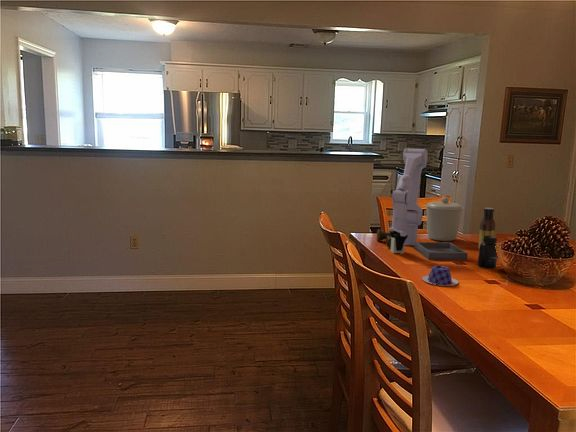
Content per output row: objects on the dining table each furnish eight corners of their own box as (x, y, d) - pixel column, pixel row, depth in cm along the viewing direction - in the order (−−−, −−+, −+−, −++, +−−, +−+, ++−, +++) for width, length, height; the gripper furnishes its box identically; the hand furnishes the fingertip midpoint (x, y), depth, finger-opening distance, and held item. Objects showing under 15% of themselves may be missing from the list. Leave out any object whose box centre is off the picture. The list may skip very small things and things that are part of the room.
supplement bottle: (493, 270, 173) (497, 239, 171) (475, 266, 177) (478, 236, 175) (498, 266, 179) (501, 236, 176) (480, 263, 183) (483, 234, 180)
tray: (414, 248, 203) (415, 242, 203) (449, 249, 204) (450, 242, 204) (428, 259, 186) (429, 252, 185) (466, 260, 187) (467, 253, 186)
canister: (416, 239, 222) (420, 196, 219) (430, 233, 237) (433, 193, 233) (454, 245, 212) (458, 200, 208) (465, 239, 226) (470, 197, 222)
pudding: (424, 274, 166) (426, 261, 165) (459, 280, 161) (461, 265, 160) (418, 284, 155) (420, 269, 154) (456, 290, 150) (457, 274, 149)
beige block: (390, 250, 198) (391, 237, 197) (400, 251, 198) (401, 237, 197) (393, 253, 194) (394, 239, 193) (403, 253, 194) (404, 240, 193)
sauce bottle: (490, 251, 203) (495, 207, 199) (495, 254, 197) (500, 209, 193) (475, 250, 203) (480, 206, 200) (479, 254, 197) (484, 208, 194)
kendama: (381, 249, 203) (374, 238, 223) (402, 250, 203) (394, 239, 222) (382, 236, 202) (375, 226, 221) (404, 237, 201) (395, 227, 221)
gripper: (385, 214, 200) (383, 244, 203) (394, 221, 186) (392, 253, 188) (401, 215, 201) (399, 245, 203) (411, 221, 186) (409, 253, 189)
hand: (397, 249), depth 196 cm, fingers closed on beige block, 4 cm apart
